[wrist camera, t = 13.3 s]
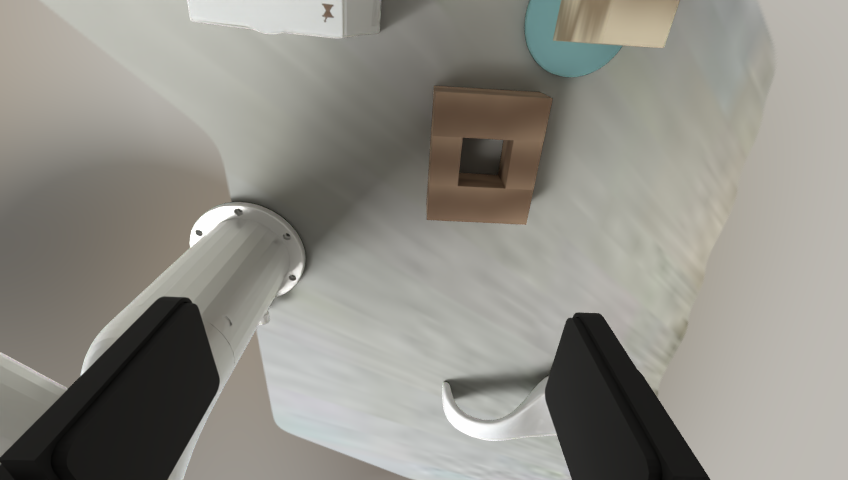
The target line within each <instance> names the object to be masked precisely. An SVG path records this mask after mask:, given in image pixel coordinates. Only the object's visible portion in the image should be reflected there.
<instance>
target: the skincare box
mask: <svg viewBox="0 0 848 480" xmlns="http://www.w3.org/2000/svg"><path fill="white" fill-rule="evenodd" d="M187 3H188V9H189V15H190V19H191V21H193V22H198V23H205V24H212V25H220V26H228V27H236V28H244V29H252V30H256V31H258V32H261V33H263V34H269V35H275V34H280V33H287V34H297V35H307V36H317V37H326V38H346V37H353V36H360V35H367V34H378V33H379V32H380V19H381V0H187Z"/></svg>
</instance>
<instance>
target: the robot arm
mask: <svg viewBox="0 0 848 480" xmlns="http://www.w3.org/2000/svg"><path fill="white" fill-rule="evenodd" d="M305 261H306V257H305V249H304V247H303V244H302V241H301V239H300V237H299V236H298V234H297V232H296V231H295V230H294V229H293V227H292V226H291V225H290V224H289V223H288V222H287V221H286V220H285V219H283V218H282V217H281V216H279V215H278V214H276V213H275V212H273V211H271V210H269V209H267V208H265V207H262V206H259V205H256V204H252V203H245V202H230V203H224V204H221V205H217V206H215V207H213V208H212V209H210V210H208V211H207V212H206V213H204V214H203V215H202V216H201V217H200V218H199V219H198V220H197V222H196V223H195V224H194V226H193V228H192V231H191V236H190V248H189V249H188V250H187V251H186V252H185V253H184V254H183V255H182V256H181V257H180V258H179V259H178V260H176V261H175V263H173V264H172V265H171V266H170V267H169V268H168V269H167V270H166V271H165V272H163V273H162V274H161V275H160V276H159V277H158V278H157V279H156V280H155V281H154V282H153V283H152V284H150V285H149V286H148V287H147V288H146V289H145V290H144V291H143V292H142V293H141V294H140V295H139V296H138V297H137V298H135V299H134V300H133V301H132V302H131V303H130V304H129V305H128V306H127V307H126V308H125V309H124V310H122V311H121V312H120V313H119V314H118V315H117V316H116V317H115V318H114V319H113V320H112V321H111V322H110V323H108V324H107V325H106V326H105V327H104V328H103V329H102V331H101V332H100V333H99V334H98V336H97V337H96V338H95V340H94V341H93V343H92V344H91V346H90V348H89V350H88V353H87V355H86V357H85V360H84V363H83V367H82V371H81V375H80V377H79V378H78V379H77V381H75V382H74V384H72V386H70V387H69V388H66V387H65V386H63V385H61V384H59V383H57V382H55V381H53V380H51V379H50V378H48V377H46V376H44V375H42V374H40V373H38V372H37V371H35V370H33V369H31V368H29V367H27V366H25V365H23V364H22V363H20V362H18V361H16V360H14V359H12V358H10V357H9V356H7V355H5V354H3V353H1V352H0V480H183V478H184V475H185V472H186V469H187V466H188V464H189V461H190V458H191V455H192V453H193V450H194V447H195V445H196V443H197V440H198V438H199V435H200V433H201V431H202V429H203V427H204V425H205V423H206V421H207V418H208V416H209V414H210V412H211V410H212V408H213V407H214V405H215V402H216V401H217V399H218V397H219V395H220V393H221V391H222V390H223V387H224V386H225V384H226V382H227V381H228V379H229V377H230V375H231V373H232V372H233V370H234V368H235V366H236V364H237V363H238V361H239V359H240V357H241V356H242V354H243V352H244V350H245V348H246V346H247V344H248V343H249V341H250V339H251V338H252V336H253V334H254V332H255V330H256V329H257V327H258V325H259V324H260V325H264V324H267V323H268V322H269V321H270V318H269V312H268V309H269V307H270V305H271V303H272V301H273V300H274V298H275V297H278V296H281V295H283V294H285V293H287V292H288V291H289V290H291V289H292V288H293V287H294V286H295V285H296V284H297V283H298V281H299V279H300V277H301V276H302V273H303V271H304V268H305ZM545 400H546V404H547V407H548V410H549V413H550V416H551V419H552V422H553V425H554V428H555V431H556V433H557V436H558V439H559V442H560V445H561V448H562V451H563V454H564V457H565V460H566V463H567V466H568V469H569V472H570V475H571V478H572V480H710V478H709V477H708V475H707V474H706V472H705V471H704V469H703V467H702V466H701V464H700V463H699V461H698V460H697V458H696V457H695V455H694V454H693V452H692V450H691V449H690V448H689V446H688V444H687V443H686V441H685V440H684V438H683V437H682V435H681V434H680V432H679V430H678V429H677V427H676V426H675V425H674V423H673V421H672V420H671V418H670V417H669V415H668V414H667V412H666V410H665V409H664V407H663V406H662V404H661V403H660V401H659V400H658V398H657V397H656V395H655V394H654V392H653V390H652V389H651V387H650V386H649V384H648V383H647V381H646V380H645V378H644V377H643V375H642V374H641V373H640V372H639V371H638V370H637V369H636V367H635V365H634V364H633V362H632V361H631V359H630V358H629V356H628V355H627V353H626V351H625V350H624V348H623V347H622V345H621V344H620V342H619V341H618V339H617V338H616V336H615V334H614V333H613V331H612V330H611V328H610V327H609V325H608V324H607V322H606V320H605V319H604V317H603V316H602V315H601V314H599V313H575V314H574V316H573V318H568V319H567V321H566V324H565V327H564V330H563V333H562V336H561V340H560V343H559V346H558V349H557V352H556V355H555V359H554V362H553V365H552V368H551V371H550V375H549V378H548V381H547V384H546V387H545Z"/></svg>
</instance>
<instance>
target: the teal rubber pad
mask: <svg viewBox="0 0 848 480" xmlns="http://www.w3.org/2000/svg"><path fill="white" fill-rule="evenodd" d="M560 3H561V0H530V1H529V4H528V7H527V11H526V16H525V39H526V43H527V46H528V49H529V51H530V53H531V55H532V57H533V59H534V60H535V61H536V62H537V64H539V65H540V66H541V67H542V68H543V69H545V70H546V71H548V72H550V73H552V74H556V75H559V76H563V77H578V76H583V75H587V74H589V73H592V72H594V71H596V70H598V69H599V68H601V67H602V66H604V65H605V64H607V63H608V62H609V61H610V60H611V59H612V58H613V57H614V56H615V55H616V54H617V53H618V51H619V50H620V49H621V47H622V46H621V45H604V44H590V43H577V42H564V41H553V37H554V32H555V27H556V23H557V18H558V13H559V8H560Z"/></svg>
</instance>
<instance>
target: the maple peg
mask: <svg viewBox="0 0 848 480" xmlns="http://www.w3.org/2000/svg"><path fill="white" fill-rule="evenodd" d="M679 1H680V0H561V3H560V8H559V13H558V18H557V23H556V27H555V32H554V37H553V41H564V42H577V43H590V44H604V45H621V46H638V47H655V48H664V46H665V43H666V40H667V37H668V34H669V31H670V28H671V25H672V22H673V19H674V16H675V13H676V10H677V7H678V4H679Z"/></svg>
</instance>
